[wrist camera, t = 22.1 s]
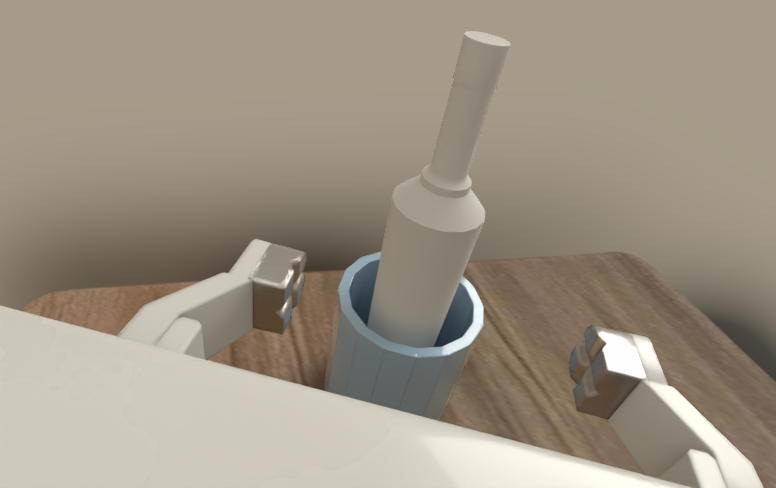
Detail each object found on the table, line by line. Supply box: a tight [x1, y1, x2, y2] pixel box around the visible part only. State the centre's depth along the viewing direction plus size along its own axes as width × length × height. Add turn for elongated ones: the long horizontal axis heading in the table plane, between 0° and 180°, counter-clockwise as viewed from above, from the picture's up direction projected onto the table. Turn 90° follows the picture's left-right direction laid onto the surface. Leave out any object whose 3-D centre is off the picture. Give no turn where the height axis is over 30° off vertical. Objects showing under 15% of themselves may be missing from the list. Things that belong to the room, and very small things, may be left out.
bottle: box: [367, 31, 510, 348], centre depth 27 cm, size 5×5×25 cm
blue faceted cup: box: [324, 252, 484, 421], centre depth 34 cm, size 13×9×10 cm
